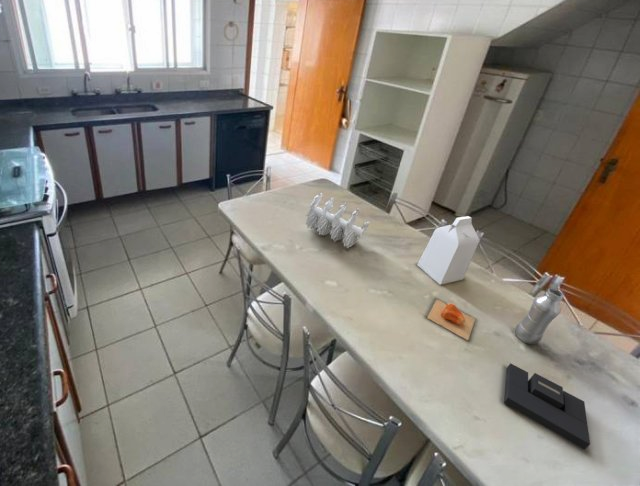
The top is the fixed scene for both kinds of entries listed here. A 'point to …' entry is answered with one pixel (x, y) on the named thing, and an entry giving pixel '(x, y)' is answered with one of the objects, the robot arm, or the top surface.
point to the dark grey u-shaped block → (547, 408)
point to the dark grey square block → (546, 390)
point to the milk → (450, 251)
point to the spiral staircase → (334, 222)
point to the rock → (451, 319)
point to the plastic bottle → (540, 316)
